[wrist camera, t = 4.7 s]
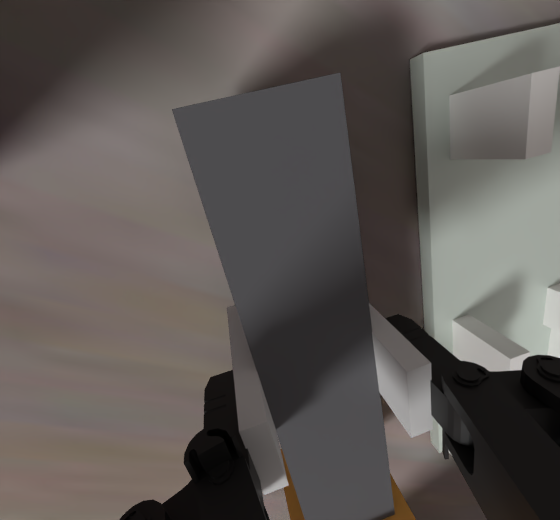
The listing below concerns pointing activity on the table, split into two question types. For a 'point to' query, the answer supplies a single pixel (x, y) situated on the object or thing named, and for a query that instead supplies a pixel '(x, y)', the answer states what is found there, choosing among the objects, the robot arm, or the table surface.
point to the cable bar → (299, 286)
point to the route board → (490, 197)
